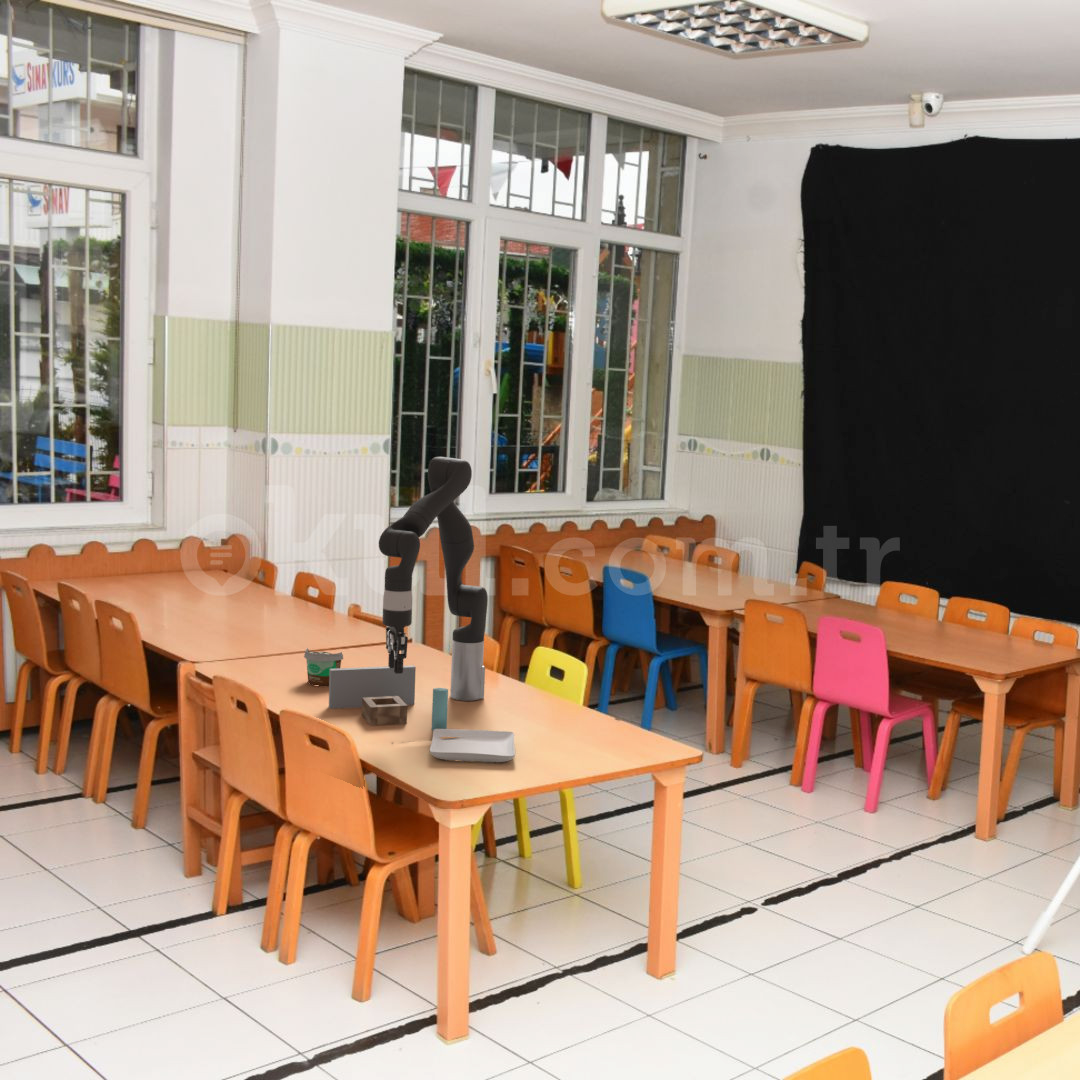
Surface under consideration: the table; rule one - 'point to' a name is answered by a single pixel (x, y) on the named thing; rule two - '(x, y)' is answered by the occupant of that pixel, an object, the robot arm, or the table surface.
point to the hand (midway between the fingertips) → (395, 670)
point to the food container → (321, 666)
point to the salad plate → (473, 745)
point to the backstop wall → (369, 685)
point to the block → (384, 710)
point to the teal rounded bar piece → (439, 708)
